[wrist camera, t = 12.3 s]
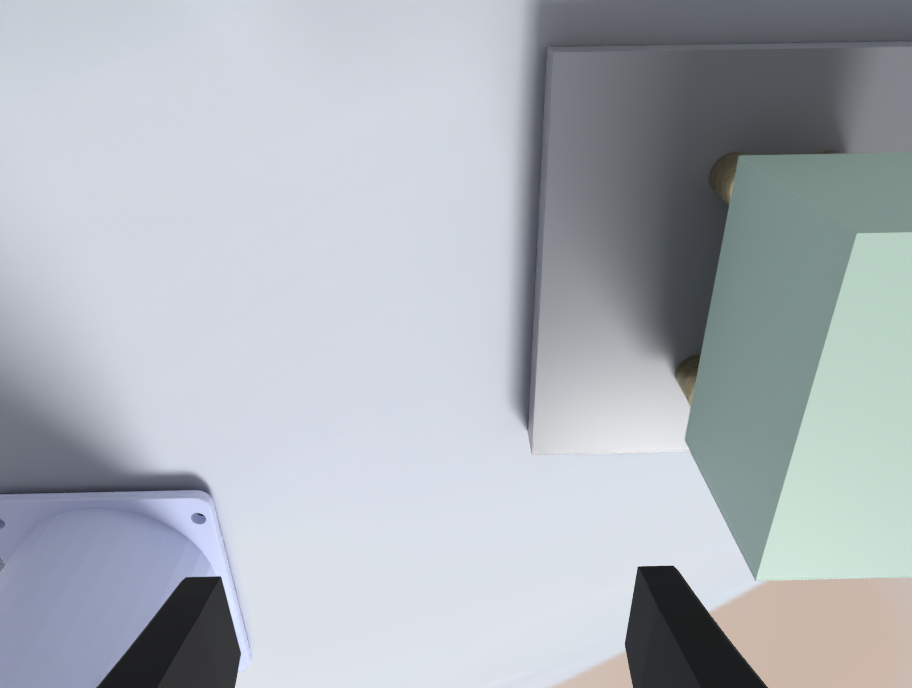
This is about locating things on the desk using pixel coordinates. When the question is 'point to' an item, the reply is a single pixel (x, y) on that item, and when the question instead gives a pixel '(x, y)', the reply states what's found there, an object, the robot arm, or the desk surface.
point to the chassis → (669, 211)
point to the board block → (812, 367)
